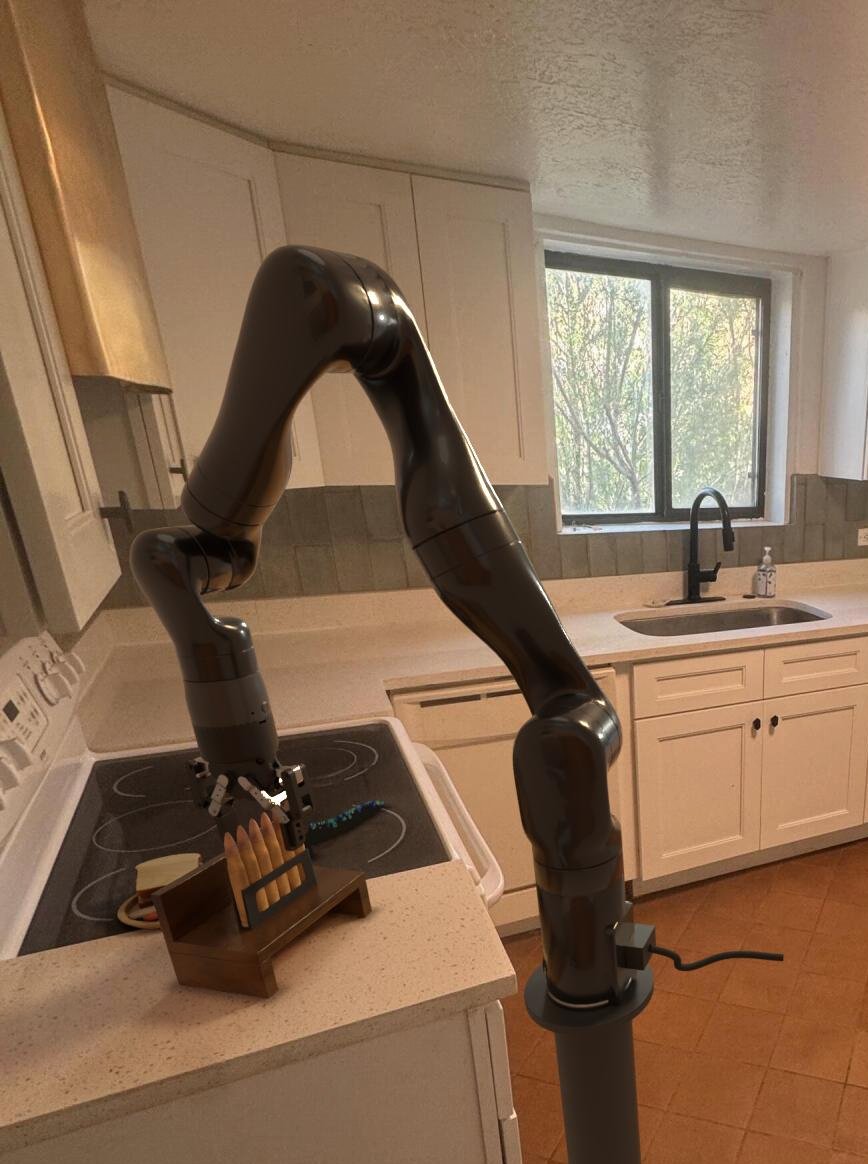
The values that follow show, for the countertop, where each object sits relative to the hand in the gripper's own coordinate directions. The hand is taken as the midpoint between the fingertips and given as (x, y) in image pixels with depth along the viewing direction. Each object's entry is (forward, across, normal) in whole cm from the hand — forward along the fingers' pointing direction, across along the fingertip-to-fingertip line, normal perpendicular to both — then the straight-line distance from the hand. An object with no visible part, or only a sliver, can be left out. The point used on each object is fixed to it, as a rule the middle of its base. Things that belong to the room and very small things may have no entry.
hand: (264, 844), depth 92 cm
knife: (+14, -14, +23) cm, 31 cm away
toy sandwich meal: (+14, -22, +5) cm, 27 cm away
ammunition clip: (+8, 0, 0) cm, 8 cm away
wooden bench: (+14, -1, 0) cm, 14 cm away
